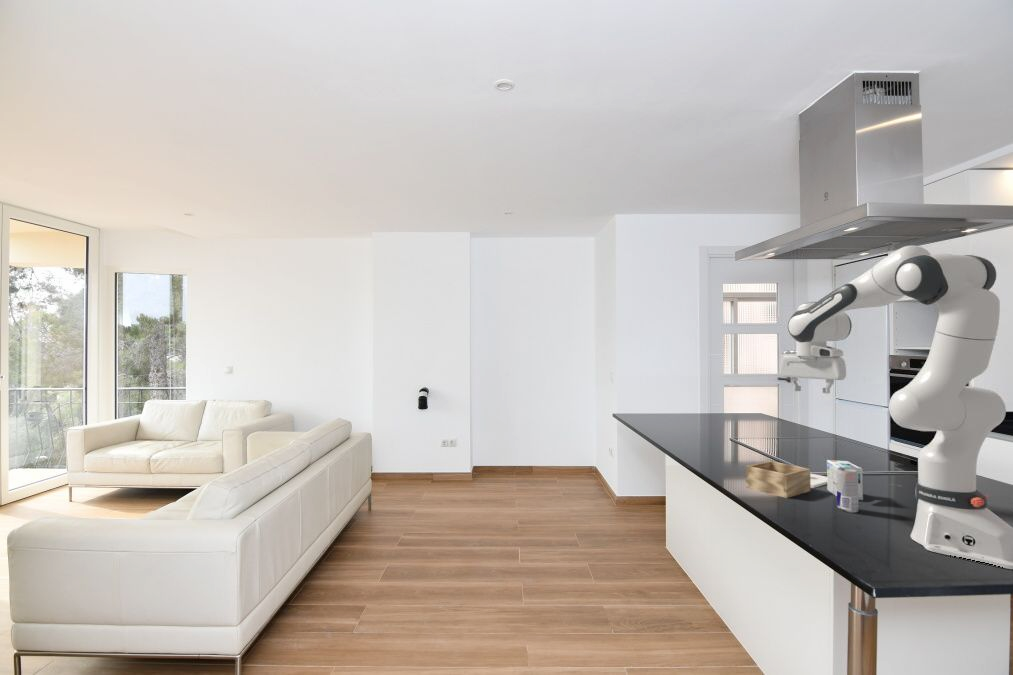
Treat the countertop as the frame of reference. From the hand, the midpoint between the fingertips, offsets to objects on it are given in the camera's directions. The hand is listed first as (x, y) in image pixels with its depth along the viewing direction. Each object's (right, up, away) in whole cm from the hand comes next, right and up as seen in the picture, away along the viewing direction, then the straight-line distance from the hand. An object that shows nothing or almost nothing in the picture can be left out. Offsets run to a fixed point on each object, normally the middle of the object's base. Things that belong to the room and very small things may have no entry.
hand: (811, 392), depth 176 cm
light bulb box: (+7, -33, -7) cm, 35 cm away
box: (-12, -33, 0) cm, 35 cm away
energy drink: (-1, -33, -20) cm, 39 cm away
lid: (+4, -34, +11) cm, 36 cm away
